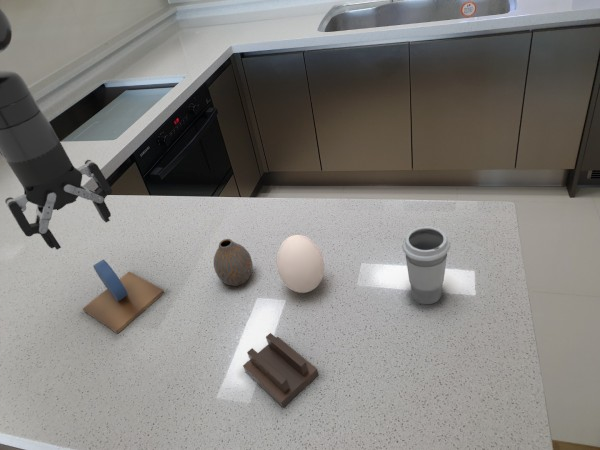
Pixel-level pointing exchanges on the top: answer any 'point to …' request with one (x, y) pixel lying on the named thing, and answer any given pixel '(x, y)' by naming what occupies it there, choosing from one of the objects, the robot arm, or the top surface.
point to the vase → (232, 263)
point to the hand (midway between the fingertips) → (82, 233)
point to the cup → (426, 262)
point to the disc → (110, 280)
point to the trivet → (124, 303)
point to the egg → (300, 264)
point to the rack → (280, 370)
